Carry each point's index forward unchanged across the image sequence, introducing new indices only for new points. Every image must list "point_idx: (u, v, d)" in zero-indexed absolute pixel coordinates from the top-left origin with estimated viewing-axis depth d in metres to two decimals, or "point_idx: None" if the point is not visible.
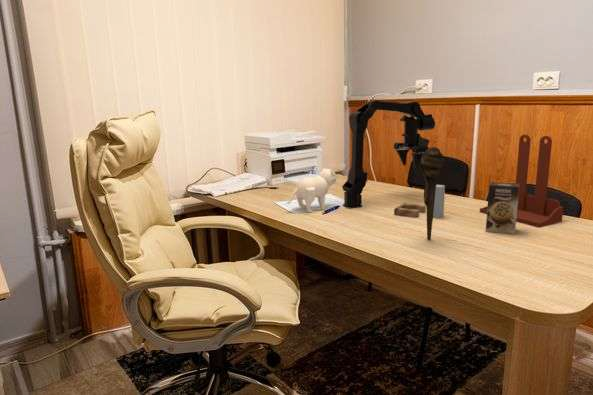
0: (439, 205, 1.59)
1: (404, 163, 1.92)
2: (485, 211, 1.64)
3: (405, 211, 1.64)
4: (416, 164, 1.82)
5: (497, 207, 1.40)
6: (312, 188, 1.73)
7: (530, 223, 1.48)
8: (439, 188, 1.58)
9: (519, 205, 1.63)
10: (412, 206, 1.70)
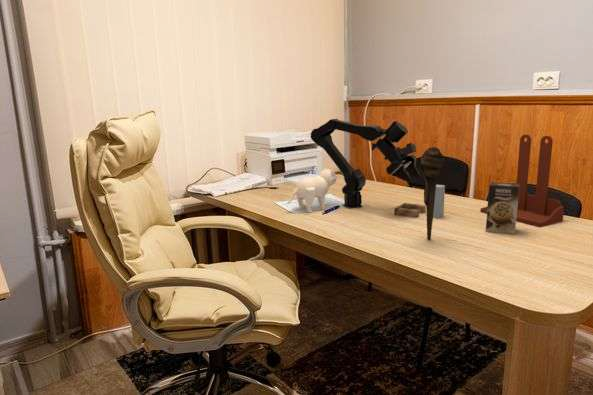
0: (439, 205, 1.59)
1: (418, 176, 1.68)
2: (486, 211, 1.64)
3: (405, 211, 1.64)
4: (407, 180, 1.61)
5: (497, 207, 1.40)
6: (312, 188, 1.73)
7: (531, 223, 1.48)
8: (439, 188, 1.58)
9: (520, 205, 1.64)
10: (412, 206, 1.70)
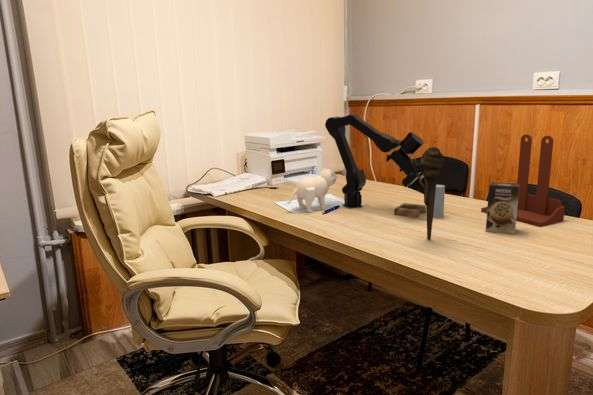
0: (439, 205, 1.59)
1: None
2: (486, 211, 1.64)
3: (405, 211, 1.64)
4: (423, 192, 1.58)
5: (497, 207, 1.40)
6: (312, 188, 1.73)
7: (531, 223, 1.48)
8: (439, 188, 1.58)
9: (520, 205, 1.64)
10: (412, 206, 1.70)
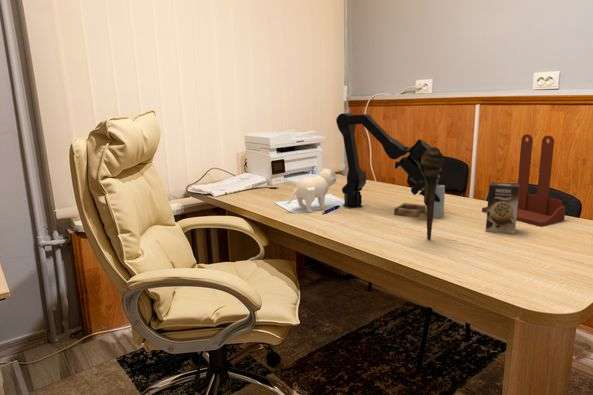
0: (439, 205, 1.59)
1: None
2: None
3: (405, 211, 1.64)
4: None
5: (497, 207, 1.40)
6: (312, 188, 1.73)
7: (532, 222, 1.48)
8: (439, 188, 1.58)
9: (521, 205, 1.64)
10: (412, 206, 1.70)
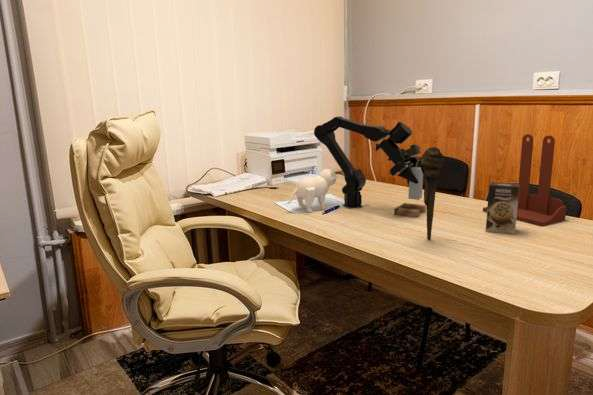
0: (417, 187, 1.62)
1: None
2: None
3: (405, 211, 1.64)
4: (413, 180, 1.62)
5: (496, 207, 1.40)
6: (312, 188, 1.73)
7: (533, 222, 1.48)
8: (417, 170, 1.61)
9: (522, 204, 1.64)
10: (412, 206, 1.70)
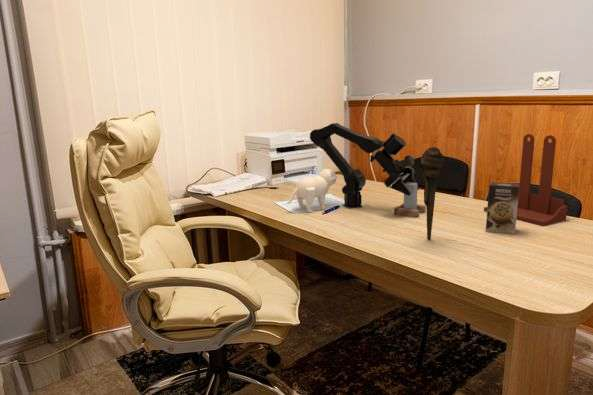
0: (412, 202, 1.65)
1: None
2: None
3: (405, 211, 1.64)
4: (405, 192, 1.62)
5: (497, 207, 1.40)
6: (312, 188, 1.73)
7: (534, 222, 1.49)
8: (411, 186, 1.64)
9: (523, 204, 1.64)
10: None
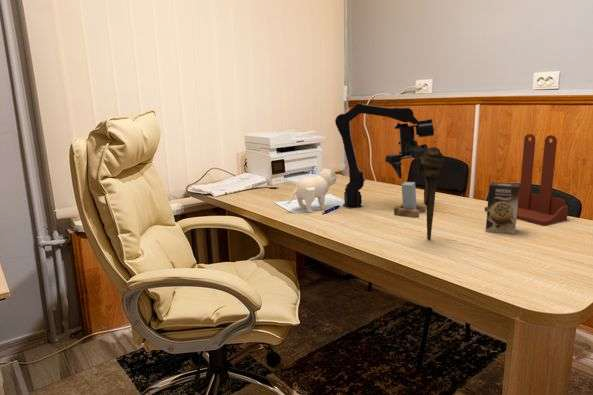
0: (411, 202, 1.65)
1: (418, 172, 1.77)
2: None
3: (405, 211, 1.64)
4: (398, 174, 1.74)
5: (497, 207, 1.40)
6: (312, 188, 1.73)
7: (535, 222, 1.49)
8: (409, 186, 1.63)
9: (524, 204, 1.65)
10: None
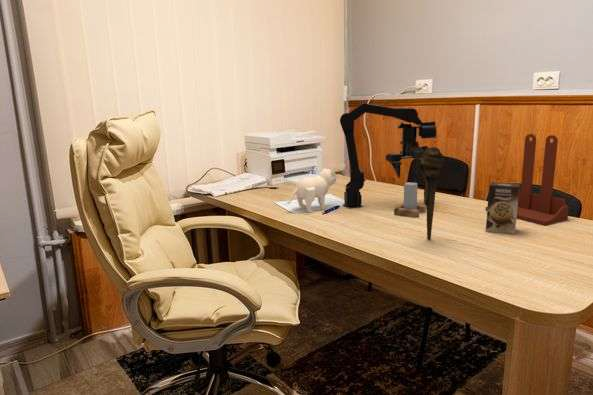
0: (412, 202, 1.65)
1: (417, 173, 1.78)
2: None
3: (405, 211, 1.64)
4: (396, 173, 1.75)
5: (497, 207, 1.40)
6: (312, 188, 1.73)
7: (536, 221, 1.49)
8: (412, 186, 1.64)
9: (525, 204, 1.65)
10: None
